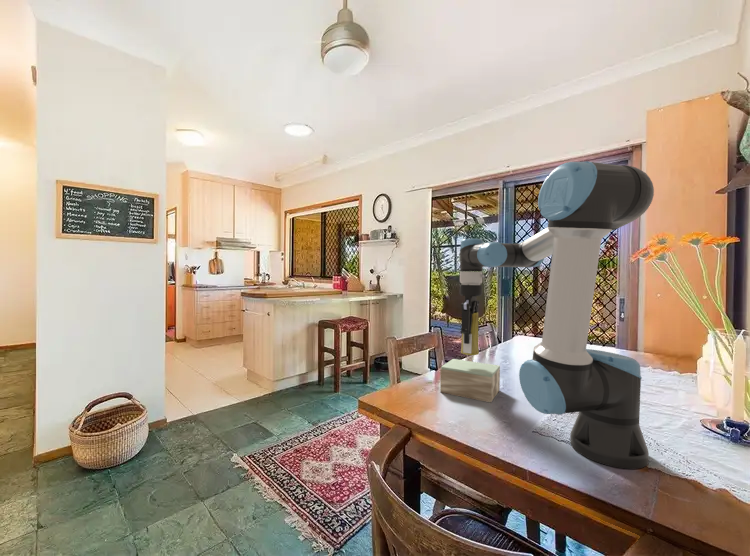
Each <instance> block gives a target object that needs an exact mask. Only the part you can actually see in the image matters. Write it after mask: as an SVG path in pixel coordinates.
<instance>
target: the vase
mask: <svg viewBox="0 0 750 556" xmlns="http://www.w3.org/2000/svg"><path fill="white" fill-rule="evenodd" d="M471 334H472V353H471V354H470V353H463V334H462V333H461V345H460V346H461V347H460V348H461V349H460V354H463V355H466V356H479V355H480V354H479V353H480V352H479V351H480V350H479V331H478V312H476V313H474V314H472V326H471Z"/></svg>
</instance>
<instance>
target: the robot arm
mask: <svg viewBox="0 0 750 556" xmlns="http://www.w3.org/2000/svg"><path fill="white" fill-rule="evenodd" d="M654 195H655V188H654V183H653V181H652V180H651V178H650V176H649V175H648V174H647V173H646V172H644V171H643V170H642V169H640V168H638V167H635V166H632V165H627V164H625V165H624V164H622V165H621V164H620V165H619V164H611V163H610V164H609V163H602V162H601V163H600V162H593V161H588V160H585V161H569V162H565V163H562V164H560V165H558V166H557V167H555V168H554V169H553V170H552V171H551V172H550V173H549V175H548V176H546V178H545V179H544V181H543V183H542V185H541V188H540V190H539V192H538V199H537V207H538V210H539V211H540V214H541V216H542V217H543V218H545V219H546V220H548V221H547V227H545V228H544V229H543V230H541V231H539V232H537V233H536V234H534V235H532V236H531V237H528V238H527V239H525V240H523V241H521V242H519V243H503V242H502V243H501V242H498V241H487V242H484V241H483V239H481V238H464V239H462V240H461V241H460V248H459V283H461V284H460V285H459V295H460V296H464V300H463V302H462V303H461V305H460V306H461V323H460V324H461V325H460V327H461V328H460V329H461V330H460V334H461V335H462V334H463V353H470V354H471V353H472V334H471V326H472V314H474V313H476V312H478V332H479V331H480V328H479V327H480V325H479V322H480V319H479V316H480V315H479V314H480V313H479V309H480V300H477V299H478V298H477V297H481V296H482V295H483V285H482V283H483V278H484V277H485V275H484V274H483V271H484V270H483V268H484V267H485V268H527V269H528V268H529V269H530V268H536V267H540V266H541V265H542V263H543V262H544V260H545V258H548V257H550V256H551V265H550V271H549V278H548V289H547V295H546V304H545V305H546V306H545V314H544V322H543V328H542V329H543V331H542V339H541V342H540V343H538V344H537V345H535V346H534V347H533V353H532V359H527V360H525V361H523V363H521V365H520V368H519V372H518V377H519V378H518V379H519V385H520V389H521V390H522V393H523V394H524V397H525V399H526V401H527V402H528V403H529V404H530V405H531V407H532V408H533V409H535V410H536V411H538V412H539V413H542V414H545V415H558V416H559V415H563V414H571V413H572V414H573V413H578V414H577V416H576V419H575V422H574V424H573V426H572V429H571V431H570V438H569V439H570V440H569V442H570V445H571V447H572V448H573V449H574V451H576V452H577V453H579V455H582V456H584V457H585V458H587V459H589V460H591V461H594V462H596V463H598V464H602V465H606V466H609V467H614V468H620V469H628V470H629V469H630V470H634V469H635V470H636V469H642V468H645V467H646V466H648V464H649V450H648V449H649V448H648V447H647V443H646V441H645V438H644V435H643V433H642V429H641V425H640V414H641V412H640V408H641V388H642V387H641V385H642V383H641V382H642V381H641V380H642V379H643V377H642V376H641V375H642V373H641V364H640V363H639V362H638V361H637V359H635V358H632V357H629V356H626V355H624V354H623V355H622V354H619V353H615V352H614V353H613V352H610V351H604V350H598V349H597V350H596V349H592V348H591V349H590V348H587V344H588V338H589V332H590V331H589V330H590V322H591V317H592V316H591V315H592V309H593V302H594V301H593V300H594V293H595V287H596V281H597V273H598V265H599V260H600V251H601V247H602V246H601V245H602V239H603V238H604V237H605V236H606V235H608V234H609V233H611V232H612V231H615V230H617V229H620V228H622V227H625V226H626V225H628V224H630V223H632V222H635V221H636V220H637V219H638V218H640V217H641V216H642V215H644V214H645V213H646V212H647V210H648V209H649V208H650V206H651V204H652V202H653V199H654Z"/></svg>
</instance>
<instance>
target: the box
mask: <svg viewBox="0 0 750 556" xmlns="http://www.w3.org/2000/svg"><path fill="white" fill-rule="evenodd" d="M500 375H501V367H500V368H499V370H498V371H497V372H496V373H495V374H494V375H493V377H487V376H481V375H475V374H469V373H462V372H456V371H450V370H444V369H441V368H440V389H439V391H440V392H439V393H442V394H447V395H452V396H458V397H461V398H468V399H473V400H477V401H481V402H487V403H492V402H493V401H494V399H495V397H496V396H497V395H498V394H499V392H500V387H501V385H500V383H501V381H500V380H501V376H500Z"/></svg>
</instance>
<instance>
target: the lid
mask: <svg viewBox="0 0 750 556" xmlns="http://www.w3.org/2000/svg"><path fill="white" fill-rule="evenodd" d="M499 368H500V369H501V365H498V364H491V363H485V362H484V363H483V362H478V361H477V362H476V361H470V360H464V359H457V358H456V359H455V358H452V359H450V360H449V361H448V362H446V363H444V364H443V365H442V366H440V370H441V369H444V370H450V371H456V372H462V373H469V374H475V375H481V376H487V377H493V375H494V374H495V373H496V372H497V371H498V370H499Z"/></svg>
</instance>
